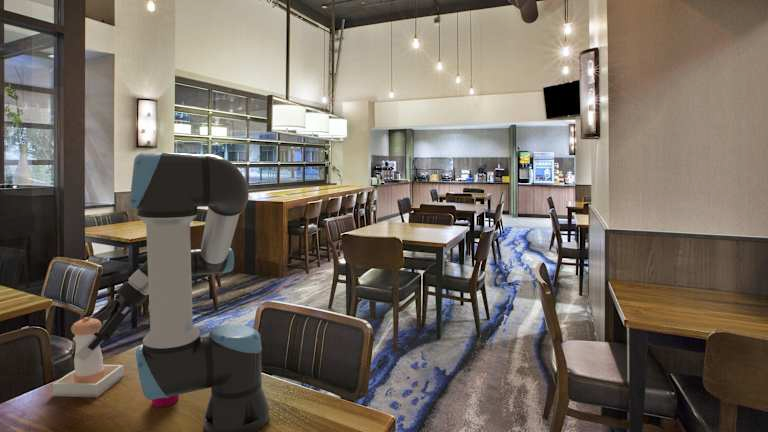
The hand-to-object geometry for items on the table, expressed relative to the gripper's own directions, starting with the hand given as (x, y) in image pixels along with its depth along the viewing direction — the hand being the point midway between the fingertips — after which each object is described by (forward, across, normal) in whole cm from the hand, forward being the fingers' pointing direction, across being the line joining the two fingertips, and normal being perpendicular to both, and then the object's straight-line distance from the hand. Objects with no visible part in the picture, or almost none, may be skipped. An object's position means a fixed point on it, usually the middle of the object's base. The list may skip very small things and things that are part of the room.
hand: (78, 349), depth 120 cm
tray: (+6, 0, -10) cm, 11 cm away
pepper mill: (-4, -21, -21) cm, 30 cm away
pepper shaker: (+6, 0, -9) cm, 11 cm away
